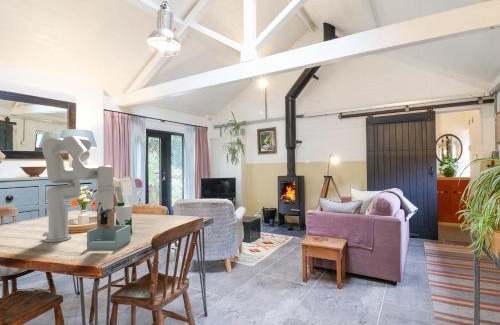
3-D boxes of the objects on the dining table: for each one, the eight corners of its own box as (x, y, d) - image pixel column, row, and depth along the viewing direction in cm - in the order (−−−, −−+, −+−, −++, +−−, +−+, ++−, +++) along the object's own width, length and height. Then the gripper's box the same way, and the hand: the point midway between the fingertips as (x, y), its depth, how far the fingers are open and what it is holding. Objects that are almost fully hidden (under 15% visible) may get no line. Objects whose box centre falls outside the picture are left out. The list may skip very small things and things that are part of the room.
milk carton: (122, 232, 175) (122, 201, 175) (134, 232, 173) (134, 201, 173) (112, 235, 166) (112, 203, 166) (125, 236, 164) (125, 203, 165)
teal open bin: (86, 248, 140) (86, 231, 140) (103, 240, 155) (103, 225, 155) (117, 248, 140) (117, 231, 140) (130, 240, 155) (130, 225, 155)
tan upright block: (96, 229, 142) (96, 210, 142) (99, 228, 144) (99, 209, 144) (111, 228, 141) (111, 209, 142) (114, 227, 144) (114, 209, 144)
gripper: (106, 188, 151) (107, 220, 151) (89, 190, 135) (89, 227, 135) (119, 187, 151) (120, 220, 151) (103, 190, 135) (104, 226, 135)
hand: (105, 223), depth 143 cm, fingers closed on tan upright block, 2 cm apart
